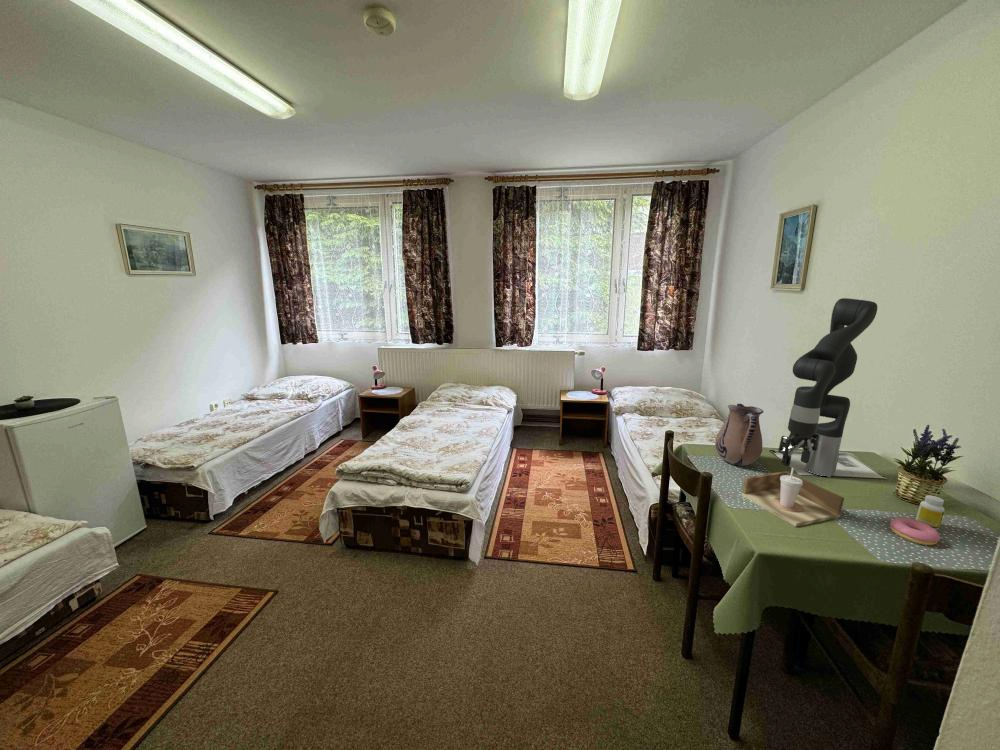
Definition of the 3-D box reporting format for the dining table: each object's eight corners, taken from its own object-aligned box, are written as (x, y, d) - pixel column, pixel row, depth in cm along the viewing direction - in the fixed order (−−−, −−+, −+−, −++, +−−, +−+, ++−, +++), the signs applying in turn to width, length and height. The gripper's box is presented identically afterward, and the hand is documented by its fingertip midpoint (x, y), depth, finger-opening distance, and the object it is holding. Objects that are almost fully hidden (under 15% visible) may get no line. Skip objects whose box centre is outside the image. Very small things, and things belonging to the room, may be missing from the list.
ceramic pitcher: (746, 454, 181) (755, 402, 175) (772, 475, 160) (783, 417, 155) (706, 452, 182) (714, 400, 177) (727, 473, 162) (736, 415, 156)
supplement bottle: (942, 532, 124) (950, 504, 122) (918, 526, 127) (925, 499, 125) (935, 524, 129) (943, 497, 126) (912, 518, 131) (919, 492, 129)
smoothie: (771, 502, 137) (778, 465, 134) (781, 498, 140) (788, 461, 137) (792, 511, 132) (799, 473, 129) (801, 506, 135) (809, 469, 132)
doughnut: (940, 552, 115) (944, 540, 114) (888, 536, 122) (891, 524, 121) (936, 536, 122) (939, 524, 121) (887, 521, 130) (890, 510, 129)
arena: (782, 488, 150) (785, 471, 148) (839, 517, 131) (844, 497, 130) (741, 495, 144) (744, 477, 143) (795, 526, 126) (799, 506, 124)
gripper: (799, 424, 124) (789, 471, 127) (831, 420, 128) (821, 466, 131) (776, 416, 131) (768, 461, 134) (808, 413, 135) (799, 456, 138)
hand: (795, 463), depth 133 cm, fingers open, 8 cm apart
